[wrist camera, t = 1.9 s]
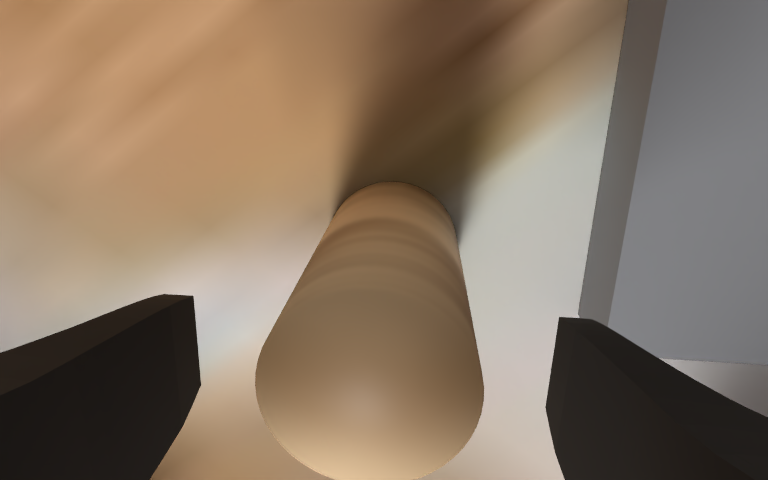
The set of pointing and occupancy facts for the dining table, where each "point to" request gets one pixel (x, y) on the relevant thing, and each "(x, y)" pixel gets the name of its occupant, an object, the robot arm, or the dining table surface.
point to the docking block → (686, 185)
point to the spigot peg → (376, 344)
